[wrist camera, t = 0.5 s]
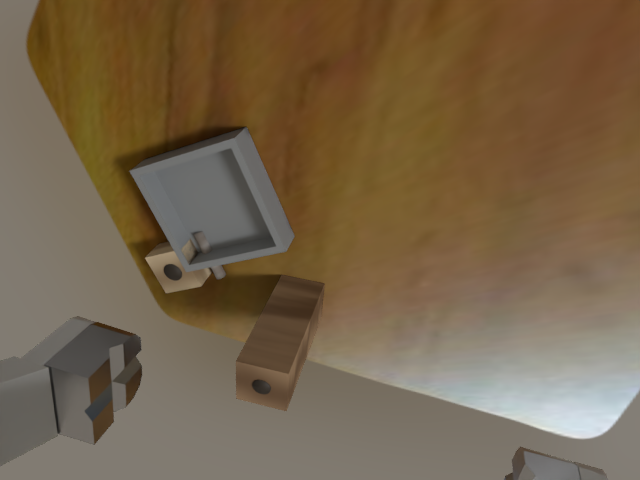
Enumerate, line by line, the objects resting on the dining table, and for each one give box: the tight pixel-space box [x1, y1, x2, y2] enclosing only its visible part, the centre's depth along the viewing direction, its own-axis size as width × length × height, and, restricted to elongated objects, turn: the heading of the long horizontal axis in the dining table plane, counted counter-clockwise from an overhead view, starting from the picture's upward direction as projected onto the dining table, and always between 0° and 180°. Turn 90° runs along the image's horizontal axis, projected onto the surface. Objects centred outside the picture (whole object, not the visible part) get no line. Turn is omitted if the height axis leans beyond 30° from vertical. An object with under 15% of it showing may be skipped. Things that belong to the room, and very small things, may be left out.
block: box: [236, 275, 325, 411], centre depth 55 cm, size 5×5×14 cm
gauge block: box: [145, 231, 226, 293], centre depth 60 cm, size 6×7×3 cm
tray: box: [130, 127, 294, 272], centre depth 55 cm, size 13×13×3 cm
